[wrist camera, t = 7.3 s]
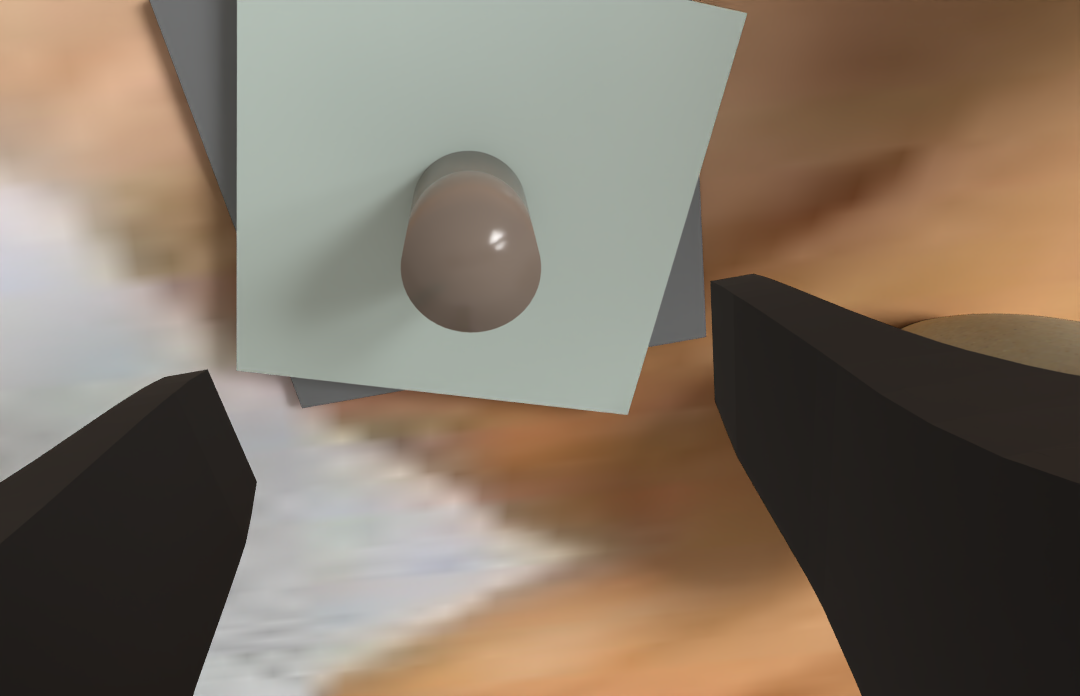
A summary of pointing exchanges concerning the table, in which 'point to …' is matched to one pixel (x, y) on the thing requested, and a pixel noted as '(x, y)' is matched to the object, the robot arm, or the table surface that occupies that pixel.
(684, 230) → the mat
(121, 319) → the table surface
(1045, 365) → the flower pot
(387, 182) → the lid
